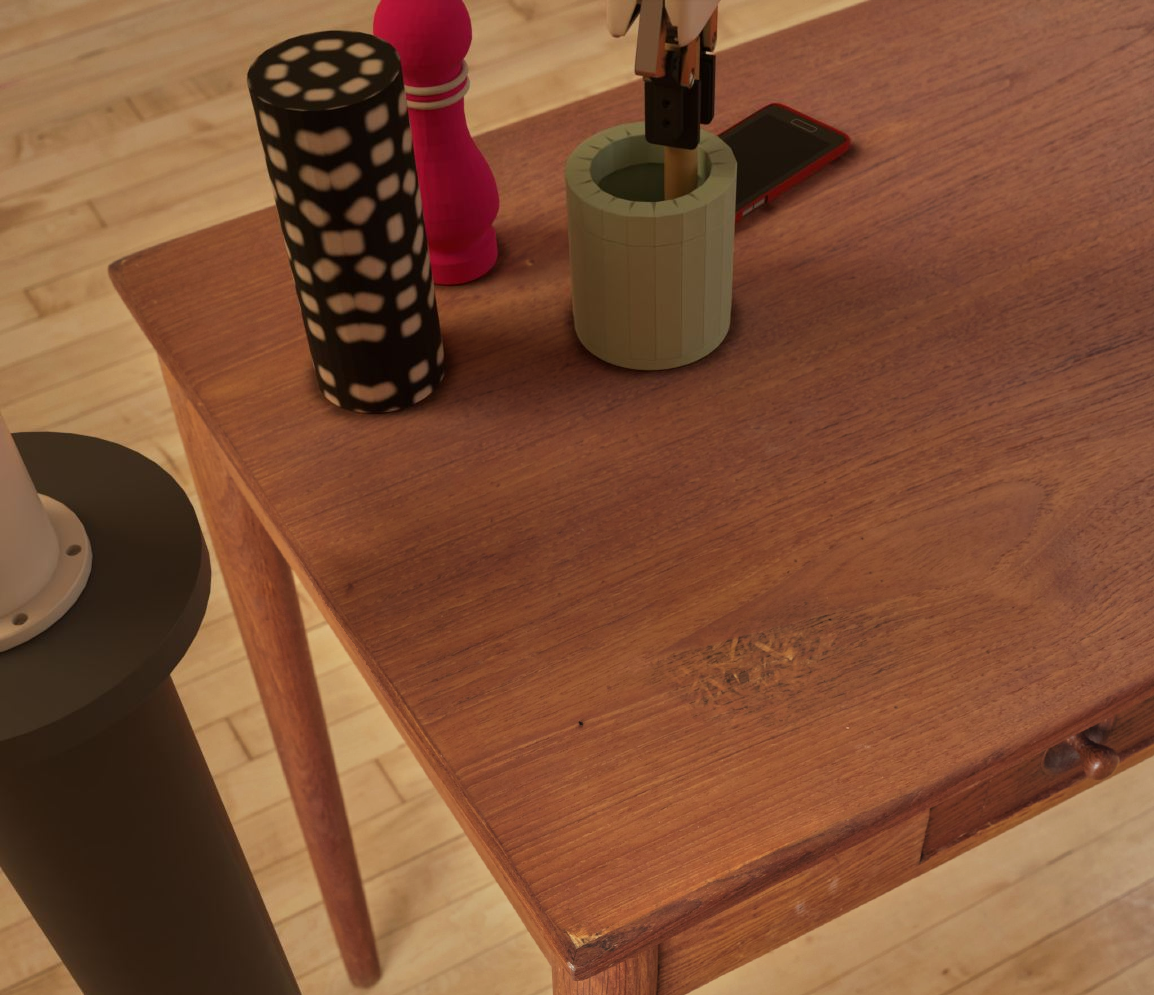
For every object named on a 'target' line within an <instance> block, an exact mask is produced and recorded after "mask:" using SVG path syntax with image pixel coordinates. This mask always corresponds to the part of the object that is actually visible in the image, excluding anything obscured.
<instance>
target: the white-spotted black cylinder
mask: <svg viewBox="0 0 1154 995" xmlns="http://www.w3.org/2000/svg"><path fill="white" fill-rule="evenodd" d="M246 84H247V88H248V92H249V95H250V96H249V97H250V101H251V106H252V109H253V113H254V118H255V121H256V126H257V132H258V135H259V139H260V144H261V147H262V153H263V156H264V161H265V166H266V169H267V173H268V178H269V182H270V186H271V190H272V194H273V199H274V202H275V207H276V212H277V216H278V220H279V225H280V229H281V232H282V237H283V241H284V246H285V250H286V254H287V258H288V263H289V267H290V271H291V275H292V280H293V284H294V288H295V292H296V297H297V300H298V305H299V310H300V314H301V319H302V322H303V327H304V331H305V336H306V339H307V344H308V348H309V352H310V357H311V360H312V361H311V362H312V365H313V370H314V374H315V378H316V382H317V385H318V389H319V391H320V392H321V393H322V395H323V396H324V397H325V398H326V399H327V400H328V401H330V402H331V403H332V404H334V405H336V406H337V407H340V408H342V409H344V410H349V411H352V412H356V413H362V414H381V413H388V412H393V411H398V410H402V409H404V408H408V407H410V406H413V405H415V404H417V403H418V402H420V401H422V400H424V399H425V398H427V397H428V396H429V395H431V394H432V393H433V392H434V391H435V390H436V389H437V388H438V386H439V385H440V384H441V382H442V380H443V378H444V376H445V372H446V358H445V352H444V351H445V350H444V343H443V337H442V329H441V323H440V318H439V317H440V316H439V311H438V310H439V309H438V303H437V297H436V289H435V284H434V282H433V276H432V269H431V262H430V255H429V248H428V242H427V235H426V228H425V221H424V215H423V208H422V201H421V194H420V188H419V181H418V174H417V167H416V160H415V154H414V147H413V140H412V133H411V127H410V120H409V113H408V106H407V100H406V93H405V86H404V79H403V72H402V66H401V59H400V56H399V54H398V52H397V50H396V49H395V48H394V47H393V46H392V45H391V44H390V43H388V42H387V41H385V40H383V39H381V38H379V37H376V36H374V35H373V34H371V33H366V32H362V31H356V30H346V29H345V30H344V29H341V30H338V29H337V30H336V29H335V30H321V31H314V32H309V33H304V34H300V35H297V36H294V37H290V38H287V39H285V40H283V41H280V42H278V43H276V44H274V45H273V46H271V47H269V48H268V49H265V50H264V51H263V52H262V53H261V54H260V55H258V56H257V57H256V58H255V59H254V61H253V62H252V63H251V64H250V66H249V68H248V71H247V73H246Z"/></svg>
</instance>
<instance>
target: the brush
mask: <svg viewBox="0 0 1154 995" xmlns="http://www.w3.org/2000/svg"><path fill="white" fill-rule="evenodd" d="M680 48H681V46H679V45H677V44H670V43H665V50H672V51H677V53H678V54H679V56H680ZM699 64H700V37H699V35H698V36H697V37H696V66H695V79H697V80H699ZM697 178H698V146H697V147H696V149H694V150H688V149H681V148H675V147H669V146H664V199H663V200H661V201H667V200H673V199H676V198H679V197H682V196H685V195H687V194H690V193H691V192H693V191H694V190H696V189H697ZM659 202H660V201H659Z"/></svg>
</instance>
